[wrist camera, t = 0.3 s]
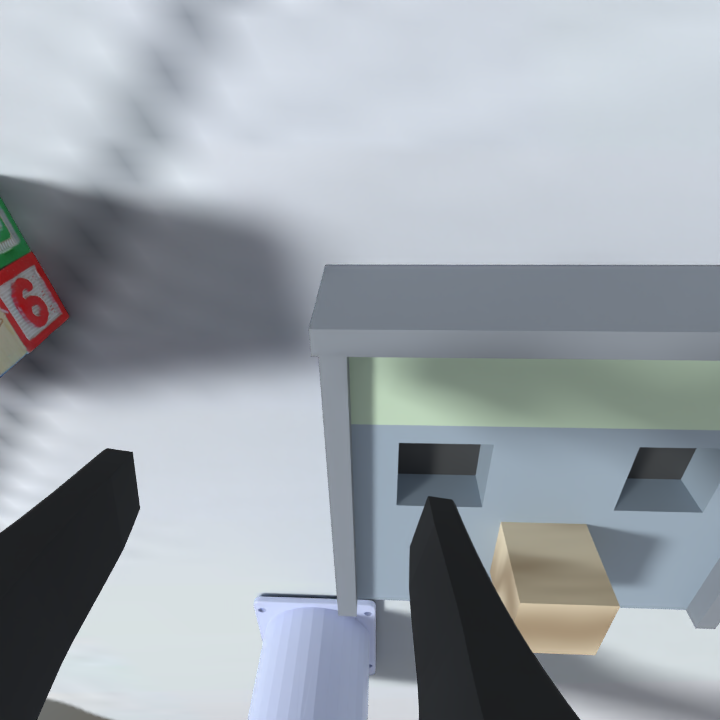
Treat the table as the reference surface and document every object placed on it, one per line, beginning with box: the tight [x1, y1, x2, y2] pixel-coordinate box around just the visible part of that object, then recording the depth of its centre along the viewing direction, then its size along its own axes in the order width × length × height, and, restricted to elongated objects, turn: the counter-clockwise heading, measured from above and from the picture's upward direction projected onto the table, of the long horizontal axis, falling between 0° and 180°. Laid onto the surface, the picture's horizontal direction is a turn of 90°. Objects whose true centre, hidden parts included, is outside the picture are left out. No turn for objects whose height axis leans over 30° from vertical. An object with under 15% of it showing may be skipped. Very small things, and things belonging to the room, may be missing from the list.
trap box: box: [309, 265, 720, 629], centre depth 22 cm, size 19×20×5 cm
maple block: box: [490, 522, 620, 655], centre depth 23 cm, size 4×4×4 cm
